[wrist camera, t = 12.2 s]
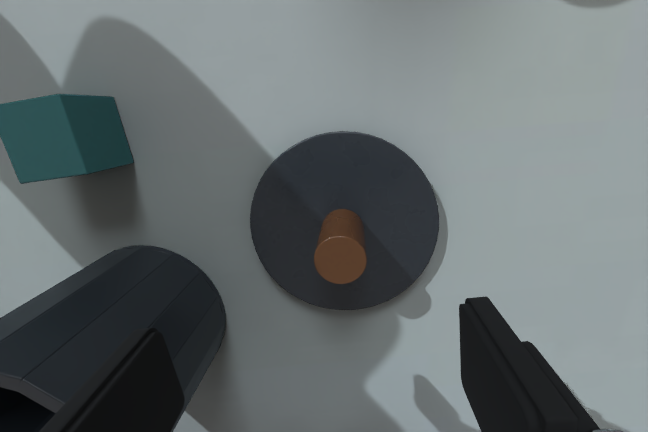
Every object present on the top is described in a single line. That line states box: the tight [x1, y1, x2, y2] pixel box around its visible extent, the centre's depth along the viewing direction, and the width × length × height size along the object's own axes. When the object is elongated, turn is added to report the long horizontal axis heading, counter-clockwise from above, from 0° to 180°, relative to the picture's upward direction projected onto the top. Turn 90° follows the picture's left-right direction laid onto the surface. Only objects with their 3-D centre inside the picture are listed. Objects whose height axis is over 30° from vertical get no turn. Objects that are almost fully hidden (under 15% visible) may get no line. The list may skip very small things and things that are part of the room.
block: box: [0, 94, 134, 184], centre depth 21 cm, size 4×4×4 cm
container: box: [0, 246, 226, 432], centre depth 21 cm, size 12×12×12 cm
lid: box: [250, 131, 439, 310], centre depth 20 cm, size 13×13×6 cm
